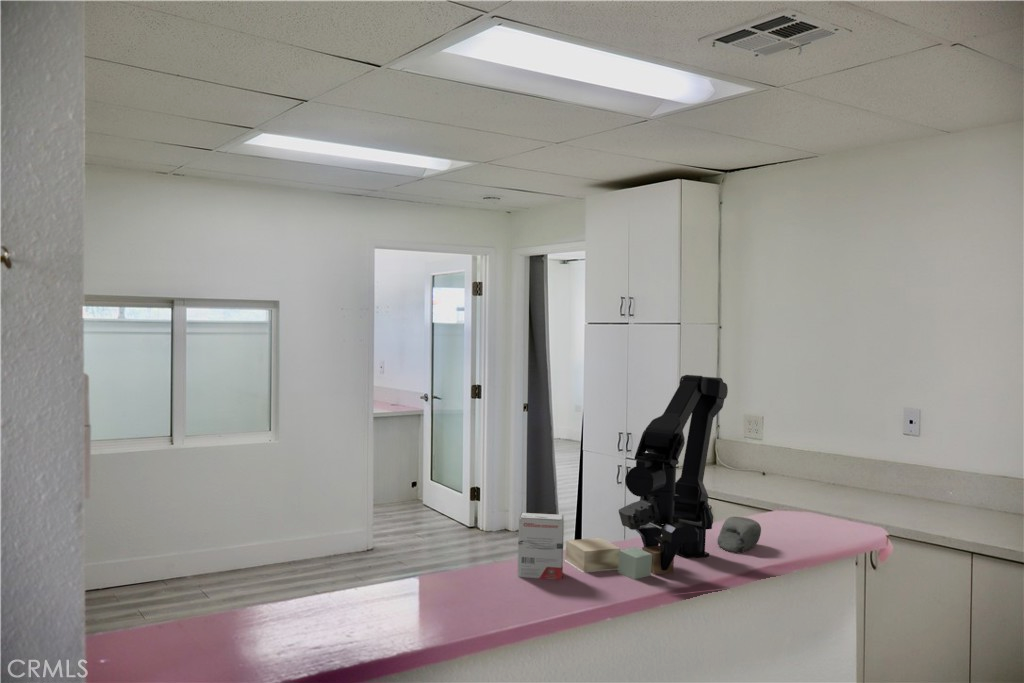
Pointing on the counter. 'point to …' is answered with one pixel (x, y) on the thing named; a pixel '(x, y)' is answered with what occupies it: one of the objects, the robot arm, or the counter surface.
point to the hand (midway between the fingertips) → (657, 566)
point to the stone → (739, 534)
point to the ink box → (540, 546)
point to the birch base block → (592, 554)
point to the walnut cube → (657, 560)
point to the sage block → (634, 563)
